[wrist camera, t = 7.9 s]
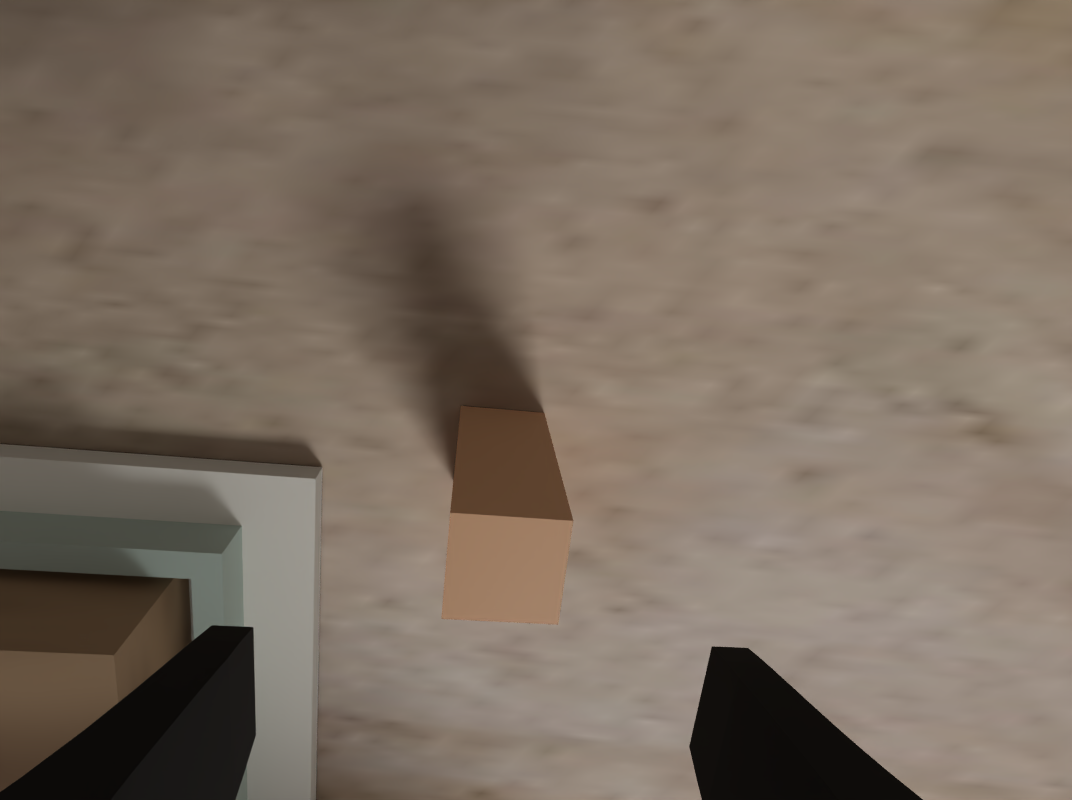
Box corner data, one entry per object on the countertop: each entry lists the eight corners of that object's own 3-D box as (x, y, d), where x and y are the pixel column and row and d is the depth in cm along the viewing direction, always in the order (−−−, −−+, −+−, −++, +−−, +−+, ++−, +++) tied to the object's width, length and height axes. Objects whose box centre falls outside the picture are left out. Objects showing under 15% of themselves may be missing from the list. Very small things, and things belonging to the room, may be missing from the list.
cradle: (313, 915, 25) (297, 986, 22) (-39, 914, 23) (-93, 989, 21) (322, 467, 19) (301, 503, 17) (-136, 434, 18) (-221, 469, 16)
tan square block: (534, 488, 20) (558, 624, 14) (454, 482, 20) (441, 619, 14) (543, 412, 19) (573, 520, 13) (460, 405, 19) (450, 512, 13)
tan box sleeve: (203, 871, 23) (146, 1011, 19) (44, 870, 22) (-47, 1014, 18) (187, 560, 19) (114, 655, 15) (-3, 549, 18) (-128, 645, 15)
